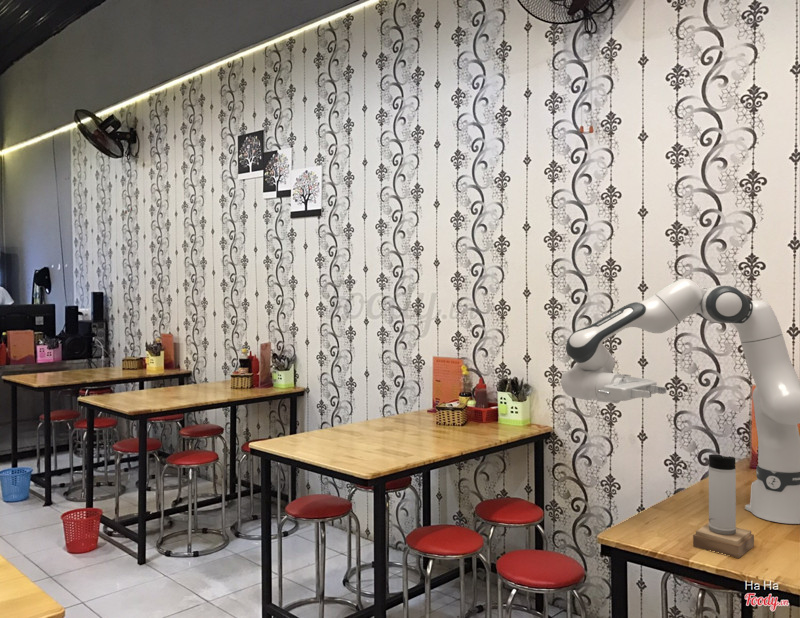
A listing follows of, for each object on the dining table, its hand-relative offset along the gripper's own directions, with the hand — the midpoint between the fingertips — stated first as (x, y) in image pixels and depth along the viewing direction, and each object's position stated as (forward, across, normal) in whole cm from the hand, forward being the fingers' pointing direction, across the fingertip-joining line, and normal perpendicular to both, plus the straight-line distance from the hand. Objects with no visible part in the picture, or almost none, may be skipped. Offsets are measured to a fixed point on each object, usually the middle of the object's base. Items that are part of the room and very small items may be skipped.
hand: (657, 392), depth 182 cm
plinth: (+18, -2, +38) cm, 42 cm away
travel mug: (+18, -2, +34) cm, 39 cm away
